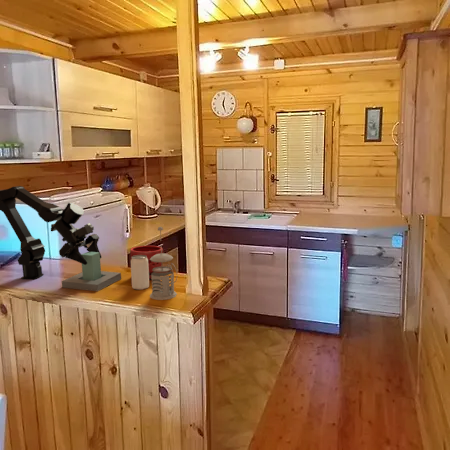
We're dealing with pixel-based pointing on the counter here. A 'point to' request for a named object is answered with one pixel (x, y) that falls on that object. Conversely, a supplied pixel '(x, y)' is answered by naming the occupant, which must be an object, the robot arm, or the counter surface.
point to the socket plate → (96, 285)
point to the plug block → (91, 266)
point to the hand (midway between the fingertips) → (93, 261)
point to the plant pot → (149, 252)
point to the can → (139, 272)
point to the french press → (162, 277)
